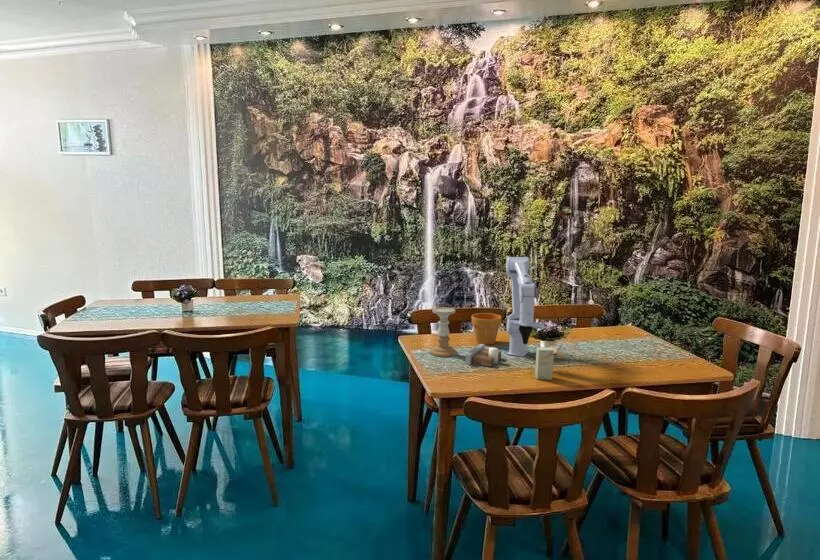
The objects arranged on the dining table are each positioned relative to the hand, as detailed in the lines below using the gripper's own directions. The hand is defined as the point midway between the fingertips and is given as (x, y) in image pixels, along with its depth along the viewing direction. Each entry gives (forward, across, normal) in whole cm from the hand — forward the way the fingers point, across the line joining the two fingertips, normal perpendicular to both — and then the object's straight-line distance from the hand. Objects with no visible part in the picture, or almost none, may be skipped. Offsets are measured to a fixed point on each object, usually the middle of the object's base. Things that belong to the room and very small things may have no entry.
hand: (525, 343), depth 250 cm
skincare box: (+10, +11, -12) cm, 19 cm away
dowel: (+10, -13, -2) cm, 17 cm away
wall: (+10, -22, -2) cm, 24 cm away
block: (+10, -16, -2) cm, 19 cm away
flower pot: (+10, -27, +26) cm, 39 cm away
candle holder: (+10, -38, 0) cm, 39 cm away
